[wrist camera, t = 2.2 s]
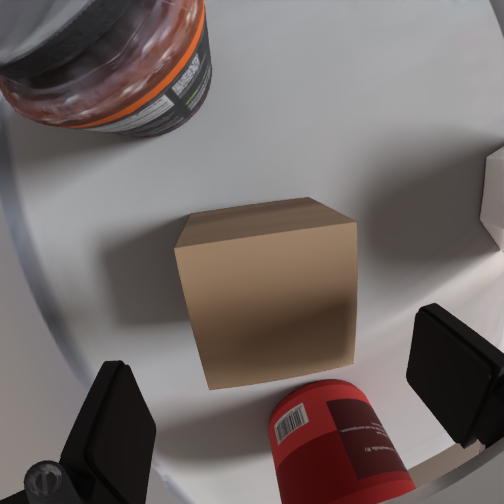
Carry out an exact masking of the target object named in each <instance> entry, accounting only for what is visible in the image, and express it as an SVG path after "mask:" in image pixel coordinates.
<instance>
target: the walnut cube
mask: <svg viewBox="0 0 504 504" xmlns="http://www.w3.org/2000/svg"><path fill="white" fill-rule="evenodd" d="M174 252H175V256H176V261H177V266H178V270H179V275H180V279H181V284H182V288H183V293H184V297H185V301H186V305H187V309H188V313H189V317H190V321H191V325H192V329H193V333H194V337H195V341H196V345H197V348H198V352H199V356H200V359H201V363H202V366H203V370H204V373H205V377H206V380H207V384H208V387H209V390H215V389H223V388H231V387H239V386H246V385H252V384H259V383H265V382H271V381H277V380H282V379H288V378H293V377H298V376H303V375H308V374H312V373H317V372H322V371H326V370H330V369H334V368H339V367H343V366H347V365H351V364H353V363H354V350H355V335H356V315H357V276H358V252H357V222H356V221H354V220H352V219H350V218H349V217H347V216H345V215H343V214H341V213H339V212H337V211H335V210H333V209H331V208H329V207H327V206H325V205H323V204H321V203H319V202H317V201H315V200H313V199H311V198H309V197H306V198H298V199H289V200H282V201H274V202H266V203H259V204H251V205H244V206H237V207H230V208H224V209H217V210H210V211H204V212H198V213H191V215H190V217H189V219H188V221H187V223H186V225H185V227H184V229H183V231H182V233H181V235H180V237H179V239H178V241H177V243H176V245H175V247H174Z"/></svg>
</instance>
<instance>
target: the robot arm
mask: <svg viewBox="0 0 504 504" xmlns="http://www.w3.org/2000/svg"><path fill="white" fill-rule="evenodd" d="M406 379H407V382H408V383H409V385H410V386H411V387H412V388H413V390H414V391H415V392H416V393H417V395H418V396H419V397H420V398H421V400H422V401H423V402H424V403H425V405H426V406H427V407H428V408H429V410H430V411H431V412H432V413H433V415H434V416H435V417H436V419H437V420H438V421H439V422H440V424H441V425H442V426H443V428H444V429H445V430H446V431H447V433H448V434H449V435H450V437H451V438H452V439H453V441H454V442H455V443H460V444H461V446H462V447H463V448H464V449H465V448H466V447H468V446H470V445H471V444H473V443H475V442H476V440H477V439H478V440H479V441H480V452H479V454H478V455H477V456H475V457H474V458H472V459H470V460H469V461H467V462H466V463H464V464H462V465H460V466H459V467H457V468H455V469H454V470H452V471H450V472H448V473H447V474H445V475H443V476H441V477H439V478H437V479H435V480H433V481H431V482H429V483H428V484H425V485H423V486H421V487H419V488H417V489H415V490H413V491H411V492H408V493H406V494H404V495H402V496H399V497H397V498H394V499H392V500H390V501H387V502H385V503H382V504H504V353H502V352H501V351H500V350H499V349H497V348H496V347H495V346H493V345H492V344H491V343H490V342H488V341H487V340H486V339H484V338H483V337H482V336H480V335H479V334H478V333H476V332H475V331H474V330H472V329H471V328H470V327H468V326H467V325H466V324H464V323H463V322H462V321H460V320H459V319H458V318H456V317H455V316H453V315H452V314H451V313H449V312H448V311H447V310H445V309H444V308H442V307H441V306H440V305H438V304H436V303H432V304H429V305H426V306H423V307H421V308H420V309H419V311H418V313H416V315H415V322H414V329H413V337H412V343H411V349H410V355H409V361H408V367H407V372H406ZM155 436H156V425H155V422H154V420H153V418H152V416H151V414H150V411H149V409H148V407H147V405H146V403H145V401H144V398H143V396H142V394H141V392H140V389H139V387H138V385H137V382H136V380H135V378H134V375H133V373H132V370H131V368H130V366H129V365H125V364H124V362H123V361H121V360H119V361H105V362H104V363H103V364H102V366H101V368H100V370H99V372H98V374H97V376H96V378H95V380H94V382H93V384H92V387H91V389H90V391H89V393H88V395H87V397H86V399H85V401H84V403H83V406H82V408H81V410H80V412H79V414H78V416H77V419H76V421H75V423H74V425H73V428H72V430H71V432H70V434H69V437H68V439H67V441H66V444H65V446H64V449H63V451H62V453H61V458H60V461H59V463H57V462H54V461H51V460H47V461H46V460H44V461H41V462H38V463H36V464H34V465H32V467H30V469H29V470H28V471H27V473H26V475H25V478H24V488H25V489H24V490H22V491H20V492H18V493H16V494H13V495H12V496H9V497H7V498H5V499H2V500H0V504H145V502H146V494H147V487H148V480H149V473H150V467H151V460H152V454H153V448H154V442H155Z"/></svg>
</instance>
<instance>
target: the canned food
mask: <svg viewBox="0 0 504 504" xmlns="http://www.w3.org/2000/svg"><path fill="white" fill-rule="evenodd" d="M269 438H270V444H271V449H272V454H273V460H274V465H275V470H276V476H277V481H278V486H279V491H280V497H281V502H282V504H382V503H385V502H387V501H390V500H392V499H394V498H397V497H399V496H402V495H404V494H406V493H408V492H411V491H413V490H415V489H416V487H415V485H414V482H413V481H412V479H411V477H410V475H409V473H408V471H407V469H406V468H405V466H404V464H403V462H402V460H401V458H400V457H399V455H398V453H397V451H396V449H395V448H394V446H393V444H392V442H391V440H390V438H389V437H388V435H387V433H386V431H385V430H384V428H383V426H382V424H381V422H380V421H379V419H378V417H377V415H376V413H375V412H374V410H373V408H372V406H371V405H370V403H369V401H368V399H367V398H366V396H365V395H364V393H363V392H362V391H361V390H359V389H358V388H357V387H356V386H354V385H353V384H351V383H349V382H346V381H342V380H324V381H319V382H315V383H312V384H309V385H306V386H304V387H302V388H300V389H297V390H296V391H294V392H293V393H291V394H289V395H288V396H287V397H286V398H284V399H283V400H282V401H281V402H280V403H279V404H278V405H277V407H276V408H275V410H274V411H273V413H272V416H271V419H270V424H269Z"/></svg>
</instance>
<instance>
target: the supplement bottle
mask: <svg viewBox="0 0 504 504" xmlns="http://www.w3.org/2000/svg"><path fill="white" fill-rule="evenodd" d="M211 77H212V65H211V56H210V48H209V39H208V31H207V23H206V12H205V5H204V0H0V90H1V92H2V93H3V96H4V97H5V98H6V100H7V101H8V103H9V104H10V105H11V106H12V107H13V108H14V109H15V110H16V111H17V112H19V113H21V115H23V116H24V117H27V118H29V119H31V120H33V121H36V122H38V123H42V124H45V125H50V126H56V127H67V128H73V129H82V130H90V131H99V132H106V133H113V134H120V135H127V136H133V137H152V136H158V135H162V134H165V133H168V132H170V131H172V130H175V129H176V128H178V127H180V126H181V125H183V124H185V123H186V122H187V121H188V120H189V119H190V118H191V117H192V116H193V115H194V114H195V113H196V112H197V111H198V110H199V108H200V107H201V105H202V104H203V102H204V100H205V99H206V96H207V93H208V91H209V88H210V83H211Z"/></svg>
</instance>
